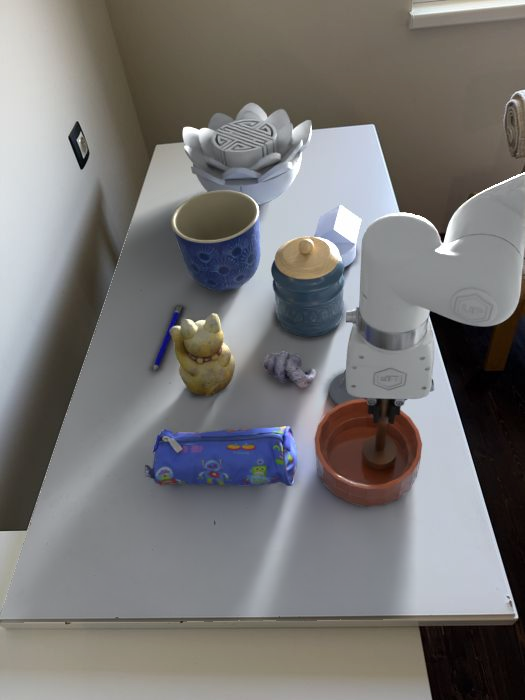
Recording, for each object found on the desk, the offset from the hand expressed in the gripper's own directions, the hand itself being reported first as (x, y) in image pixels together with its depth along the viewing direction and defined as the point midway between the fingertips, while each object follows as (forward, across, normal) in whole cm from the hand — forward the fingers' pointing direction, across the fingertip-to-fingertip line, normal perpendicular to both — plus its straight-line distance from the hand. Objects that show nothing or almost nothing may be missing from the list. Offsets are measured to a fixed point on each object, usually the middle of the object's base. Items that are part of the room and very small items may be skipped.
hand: (383, 414), depth 76 cm
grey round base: (+13, -4, +13) cm, 19 cm away
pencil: (+13, -39, +25) cm, 48 cm away
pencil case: (+13, -23, -3) cm, 27 cm away
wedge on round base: (+13, -8, +52) cm, 54 cm away
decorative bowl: (+13, -30, +74) cm, 81 cm away
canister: (+13, -12, +32) cm, 37 cm away
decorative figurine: (+13, -29, +14) cm, 35 cm away
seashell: (+13, -15, +16) cm, 26 cm away
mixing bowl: (+13, -2, 0) cm, 13 cm away
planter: (+13, -31, +43) cm, 55 cm away
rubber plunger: (+11, 0, 0) cm, 11 cm away
